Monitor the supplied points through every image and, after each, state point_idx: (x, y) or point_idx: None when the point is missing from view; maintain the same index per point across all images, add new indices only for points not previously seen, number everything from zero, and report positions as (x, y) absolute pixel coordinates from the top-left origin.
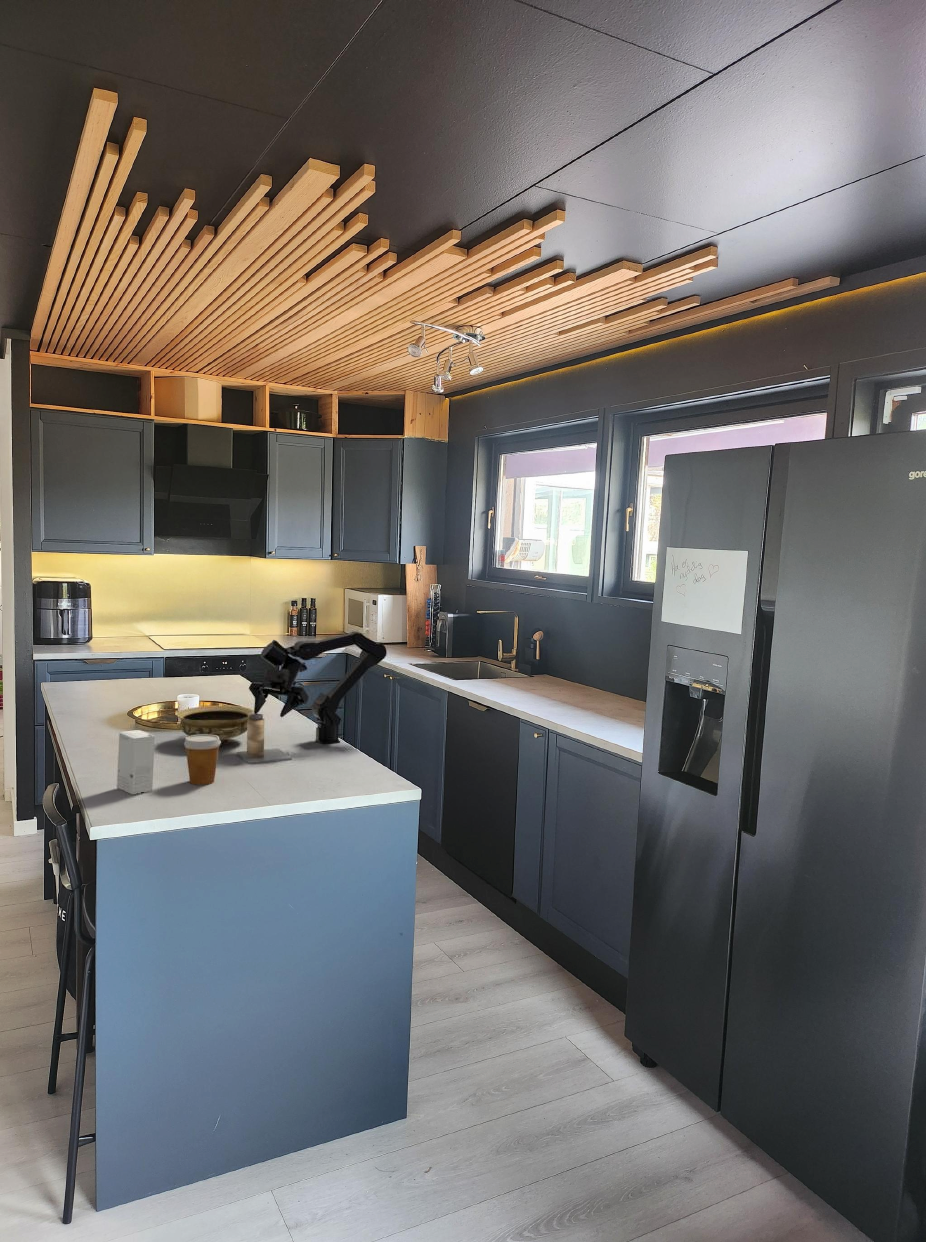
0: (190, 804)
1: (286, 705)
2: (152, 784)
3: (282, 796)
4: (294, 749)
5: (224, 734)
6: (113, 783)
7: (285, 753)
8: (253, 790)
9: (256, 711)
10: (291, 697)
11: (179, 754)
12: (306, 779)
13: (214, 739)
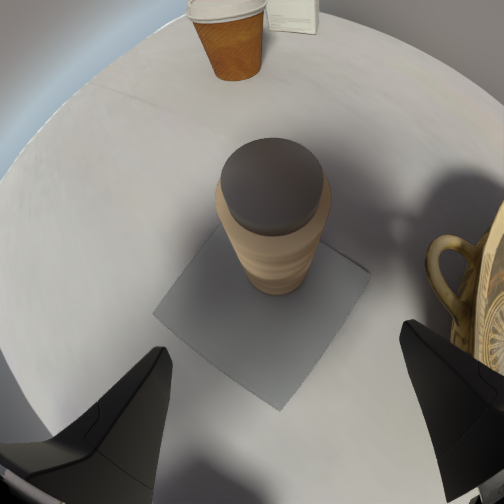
0: (182, 34)
1: (99, 403)
2: (268, 23)
3: (81, 105)
4: (234, 445)
5: (462, 276)
6: (345, 32)
7: (204, 356)
8: (128, 91)
9: (407, 340)
10: (27, 444)
11: (462, 184)
12: (64, 183)
13: (198, 5)
